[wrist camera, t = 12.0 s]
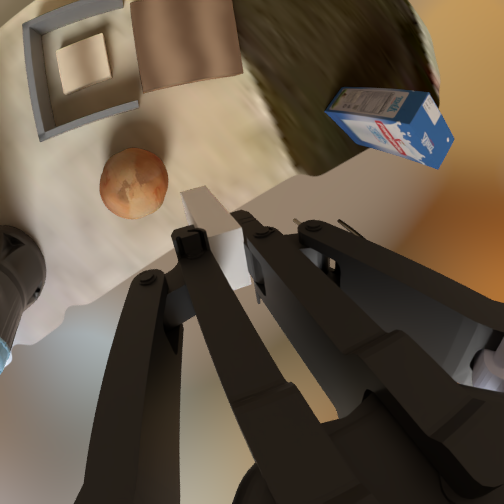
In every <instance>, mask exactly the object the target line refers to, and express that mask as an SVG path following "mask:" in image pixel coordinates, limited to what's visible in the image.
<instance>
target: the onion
mask: <svg viewBox="0 0 504 504" xmlns="http://www.w3.org/2000/svg"><path fill="white" fill-rule="evenodd" d="M167 188H168V173H167V170H166V168H165V165H164V164H163V162H162V161H161V160H160V159H159V157H157V156H156V155H155V154H153V153H151V152H149V151H147V150H143V149H139V148H128V149H125V150H123V151H121V152H119V153H117V154H115V155H113V156H112V157H110V158H109V159H108V160H107V162H106V164H105V166H104V169H103V173H102V175H101V179H100V195H101V198H102V200H103V202H104V204H105V206H106V207H107V208H108V209H109V210H110V211H111V212H113V213H114V214H116V215H117V216H120V217H122V218H126V219H138V218H142V217H144V216H146V215H148V214H151V213H154V212H155V211H156V210H158V209H159V208H160V207H161V205H162V203H163V201H164V197H165V194H166V192H167Z"/></svg>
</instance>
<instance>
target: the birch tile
mask: <svg viewBox="0 0 504 504" xmlns="http://www.w3.org/2000/svg"><path fill="white" fill-rule="evenodd" d="M56 56H57V62H58V67H59V73H60V78H61V83H62V87H63V92H64V94H67V95H69V94H71V93H74V92H76V91H79V90H81V89H84V88H86V87H89V86H91V85H94V84H97V83H99V82H102V81H105V80H108V79H111V78H112V74H111V69H110V64H109V59H108V54H107V49H106V43H105V38H104V35H103V33H100V34H97V35H95V36H92V37H89V38H86V39H84V40H81V41H78V42H76V43H73V44H71V45H68V46H66V47H64V48H61V49H59V50H57V51H56Z"/></svg>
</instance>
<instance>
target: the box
mask: <svg viewBox="0 0 504 504" xmlns="http://www.w3.org/2000/svg"><path fill="white" fill-rule="evenodd" d="M120 8H123V0H79V1H77V2H74V3H71V4H68V5H65V6H63V7H60V8H58V9H55V10H53V11H50V12H48V13H45V14H43V15H41V16H38V17H36V18H34V19H32V20H30V21H28V22H26V23H23V24H22V26H23V43H24V54H25V64H26V72H27V79H28V86H29V92H30V98H31V103H32V109H33V114H34V119H35V123H36V128H37V132H38V136H39V141H40V142H42V141H45V140H47V139H50V138H53V137H55V136H58V135H60V134H62V133H65V132H68V131H70V130H73V129H75V128H78V127H81V126H84V125H86V124H89V123H92V122H95V121H98V120H101V119H104V118H107V117H110V116H113V115H117V114H120V113H123V112H127V111H130V110H133V109H137V108H139V105H138V100H136V101H132V102H129V103H125V104H122V105H119V106H115V107H112V108H109V109H106V110H103V111H100V112H97V113H94V114H91V115H88V116H85V117H82V118H80V119H77V120H74V121H72V122H69V123H66V124H64V125H61V126H59V127H55V122H54V117H53V113H52V108H51V103H50V97H49V92H48V86H47V79H46V73H45V66H44V58H43V49H42V38H41V35H44V34H46V33H48V32H51V31H53V30H56V29H58V28H61V27H63V26H66V25H69V24H71V23H74V22H77V21H80V20H83V19H86V18H89V17H92V16H95V15H98V14H102V13H105V12H109V11H112V10H116V9H120Z"/></svg>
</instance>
